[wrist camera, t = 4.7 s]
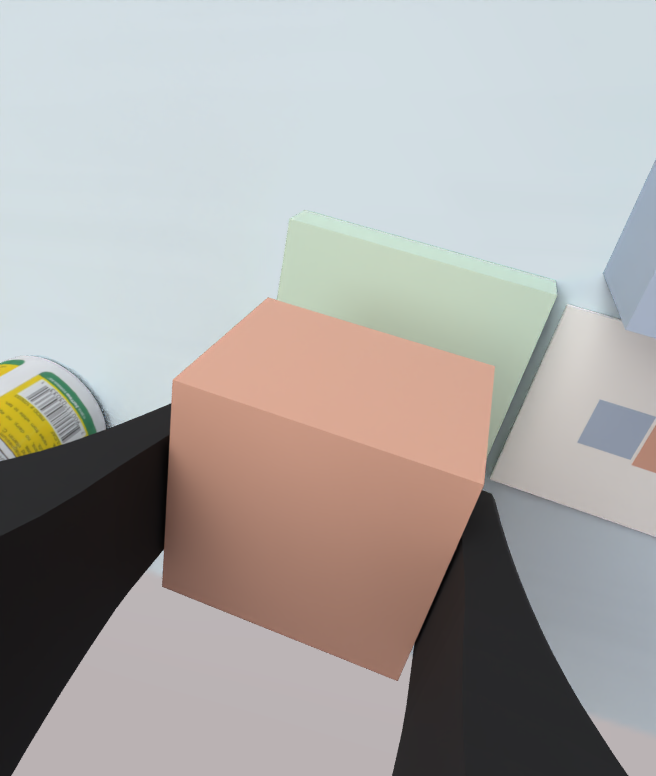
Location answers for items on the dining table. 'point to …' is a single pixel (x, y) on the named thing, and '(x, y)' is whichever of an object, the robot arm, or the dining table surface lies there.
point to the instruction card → (589, 423)
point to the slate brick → (636, 264)
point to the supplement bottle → (43, 407)
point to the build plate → (419, 296)
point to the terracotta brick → (323, 479)
